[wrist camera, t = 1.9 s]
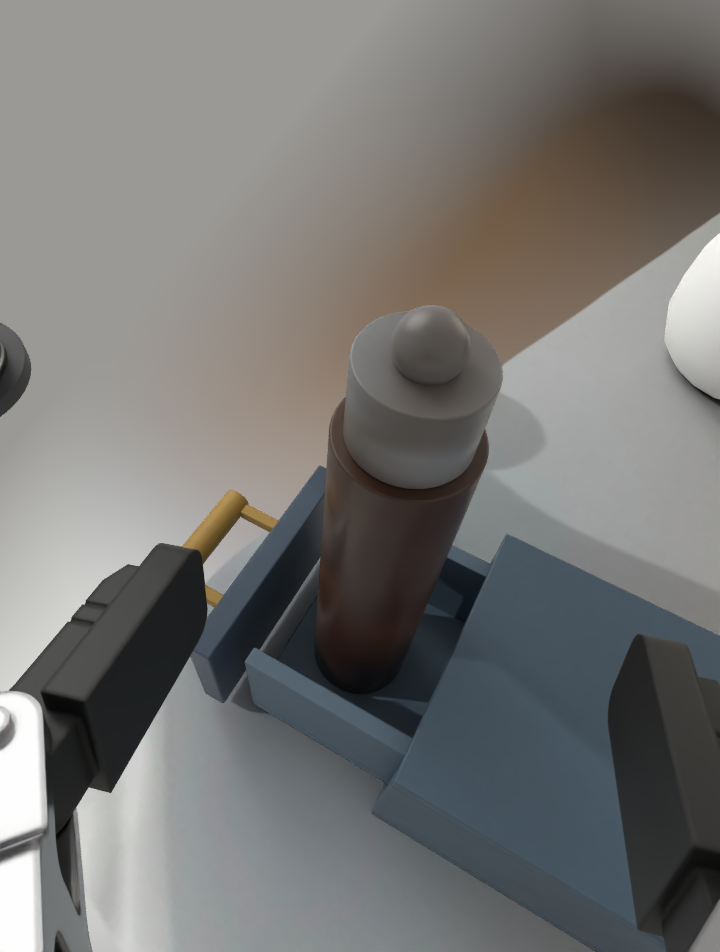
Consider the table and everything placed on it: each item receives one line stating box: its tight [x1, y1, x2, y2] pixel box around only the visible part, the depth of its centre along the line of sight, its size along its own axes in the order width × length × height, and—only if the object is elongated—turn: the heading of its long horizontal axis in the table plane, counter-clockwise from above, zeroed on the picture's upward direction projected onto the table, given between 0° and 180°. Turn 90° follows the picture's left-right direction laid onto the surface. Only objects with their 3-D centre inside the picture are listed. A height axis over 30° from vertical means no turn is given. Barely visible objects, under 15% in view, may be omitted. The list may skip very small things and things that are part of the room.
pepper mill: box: [314, 305, 503, 694], centre depth 24 cm, size 5×5×22 cm
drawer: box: [182, 466, 491, 784], centre depth 32 cm, size 17×11×7 cm
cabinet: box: [372, 534, 720, 952], centre depth 29 cm, size 14×13×9 cm
